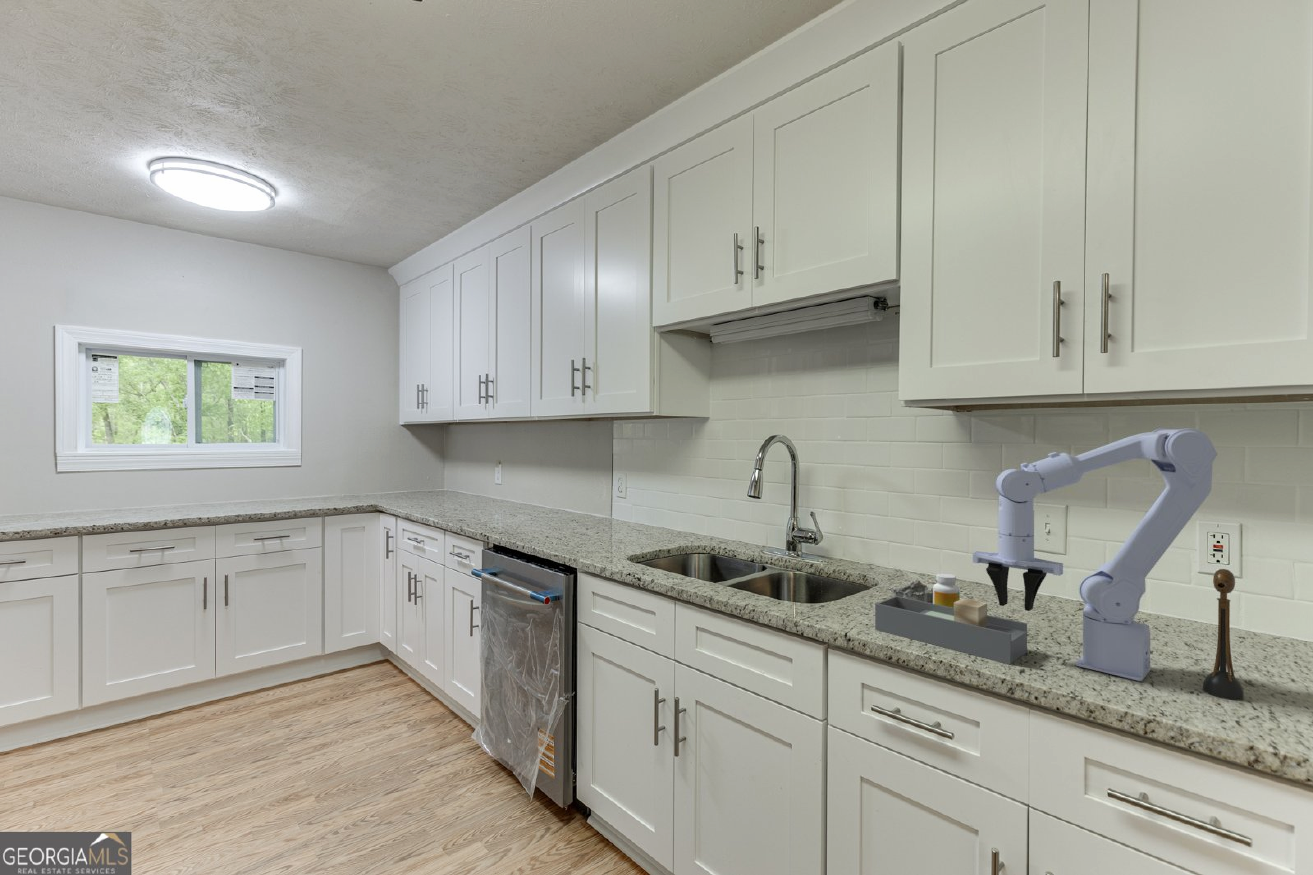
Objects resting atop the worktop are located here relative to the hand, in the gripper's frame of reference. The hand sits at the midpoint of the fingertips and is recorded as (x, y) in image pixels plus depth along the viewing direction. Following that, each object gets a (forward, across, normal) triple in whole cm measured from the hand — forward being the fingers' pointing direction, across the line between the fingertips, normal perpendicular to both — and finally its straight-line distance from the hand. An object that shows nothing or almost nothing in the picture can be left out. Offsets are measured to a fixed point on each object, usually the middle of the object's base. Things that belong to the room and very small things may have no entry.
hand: (1015, 607), depth 112 cm
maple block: (+5, -8, 0) cm, 10 cm away
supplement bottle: (+10, -18, +14) cm, 25 cm away
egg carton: (+10, -30, +23) cm, 39 cm away
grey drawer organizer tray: (+9, -12, 0) cm, 16 cm away
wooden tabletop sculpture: (+10, +28, +7) cm, 30 cm away
